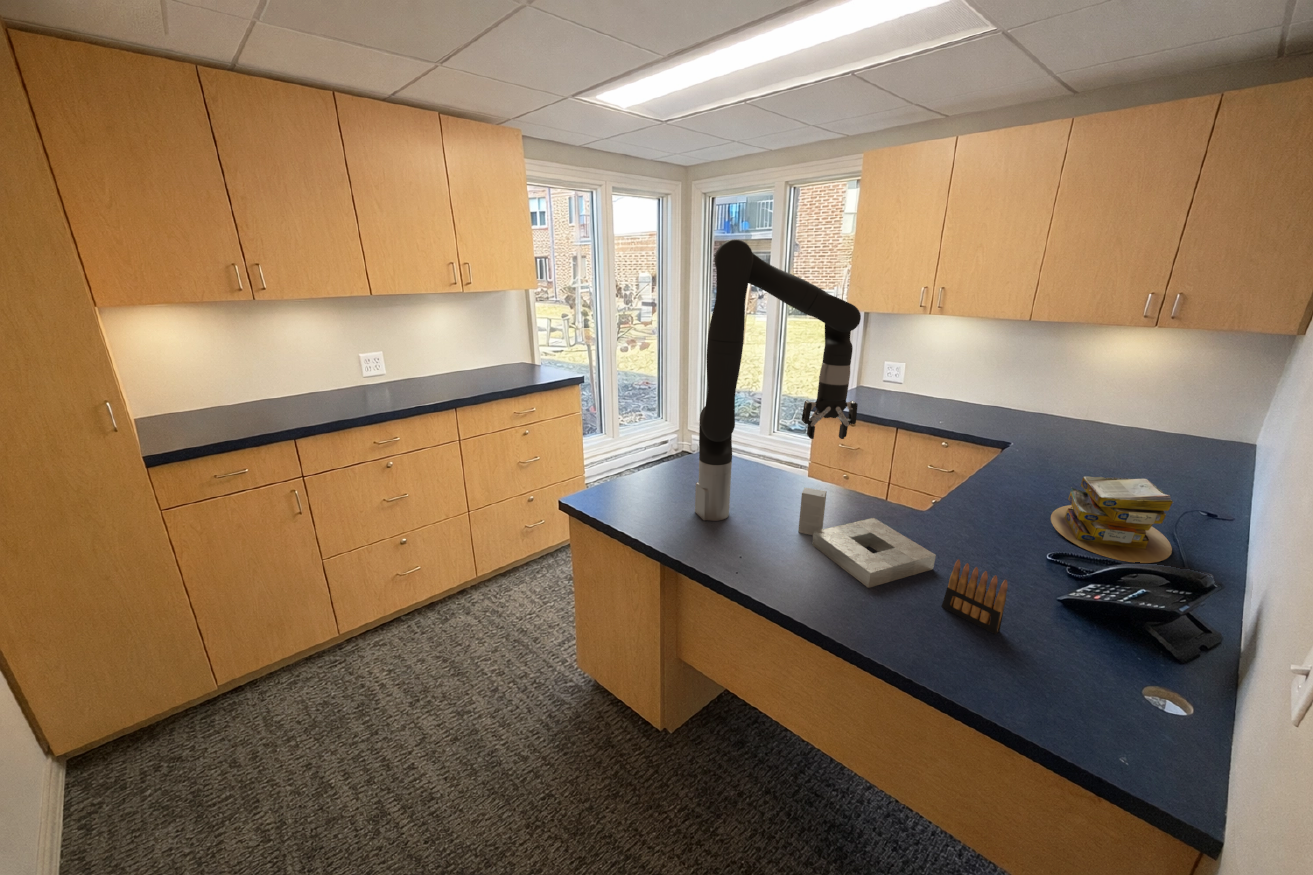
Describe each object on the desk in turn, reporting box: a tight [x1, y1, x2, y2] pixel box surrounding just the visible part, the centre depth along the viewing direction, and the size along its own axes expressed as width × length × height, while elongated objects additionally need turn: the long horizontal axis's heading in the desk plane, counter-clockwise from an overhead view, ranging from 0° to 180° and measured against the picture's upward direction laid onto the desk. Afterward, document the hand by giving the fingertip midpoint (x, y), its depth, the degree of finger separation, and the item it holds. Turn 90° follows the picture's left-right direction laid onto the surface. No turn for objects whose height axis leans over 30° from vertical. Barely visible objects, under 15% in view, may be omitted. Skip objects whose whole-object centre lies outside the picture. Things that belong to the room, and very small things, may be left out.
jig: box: [811, 517, 937, 589], centre depth 128 cm, size 20×20×4 cm
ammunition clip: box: [941, 559, 1009, 635], centre depth 104 cm, size 11×2×12 cm, turn 36°
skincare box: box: [798, 487, 827, 536], centre depth 138 cm, size 6×4×12 cm
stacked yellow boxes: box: [1050, 476, 1174, 564], centre depth 134 cm, size 25×25×17 cm
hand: (826, 438), depth 140 cm, fingers open, 8 cm apart
